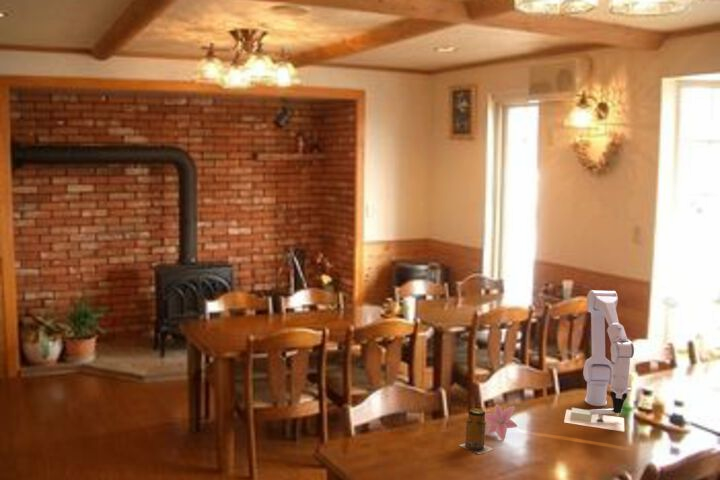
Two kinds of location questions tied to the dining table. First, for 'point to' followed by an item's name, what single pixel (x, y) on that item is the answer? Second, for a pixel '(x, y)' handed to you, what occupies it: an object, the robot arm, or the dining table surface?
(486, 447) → the condiment
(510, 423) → the lily
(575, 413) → the cover
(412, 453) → the dining table surface
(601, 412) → the t key
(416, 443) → the dining table surface
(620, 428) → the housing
